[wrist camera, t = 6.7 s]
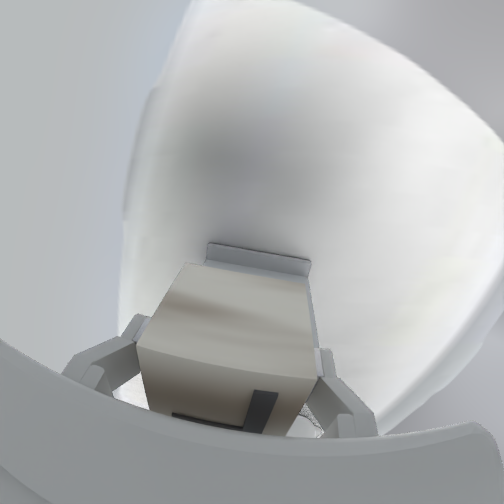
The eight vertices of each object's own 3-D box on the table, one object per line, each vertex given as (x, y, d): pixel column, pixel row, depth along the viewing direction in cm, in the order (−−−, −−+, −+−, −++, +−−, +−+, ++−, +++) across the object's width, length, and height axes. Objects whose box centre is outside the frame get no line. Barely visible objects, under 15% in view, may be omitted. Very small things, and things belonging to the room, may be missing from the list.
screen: (300, 295, 34) (309, 384, 21) (205, 279, 34) (170, 361, 22) (310, 260, 32) (328, 345, 19) (209, 242, 32) (168, 318, 19)
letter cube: (279, 363, 13) (276, 451, 9) (181, 346, 13) (150, 427, 9) (304, 283, 11) (318, 382, 7) (183, 261, 11) (130, 346, 7)
